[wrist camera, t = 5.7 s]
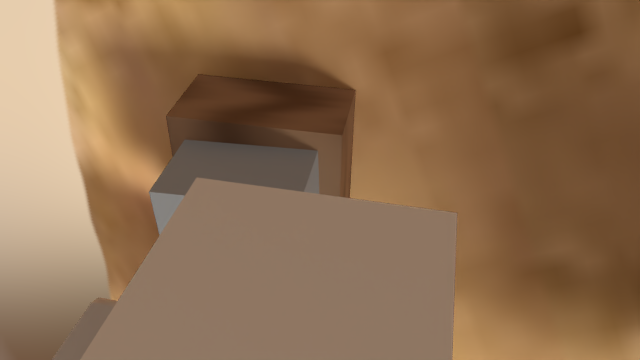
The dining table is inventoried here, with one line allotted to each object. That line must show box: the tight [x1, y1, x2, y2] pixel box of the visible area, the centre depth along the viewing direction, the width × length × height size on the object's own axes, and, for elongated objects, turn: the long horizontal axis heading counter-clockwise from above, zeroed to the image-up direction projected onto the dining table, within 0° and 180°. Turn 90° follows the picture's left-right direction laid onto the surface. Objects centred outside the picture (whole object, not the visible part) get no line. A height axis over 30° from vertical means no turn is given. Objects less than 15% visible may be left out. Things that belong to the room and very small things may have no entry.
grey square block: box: [149, 140, 319, 235], centre depth 30 cm, size 7×7×4 cm
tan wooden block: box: [166, 75, 355, 198], centre depth 34 cm, size 9×9×5 cm
